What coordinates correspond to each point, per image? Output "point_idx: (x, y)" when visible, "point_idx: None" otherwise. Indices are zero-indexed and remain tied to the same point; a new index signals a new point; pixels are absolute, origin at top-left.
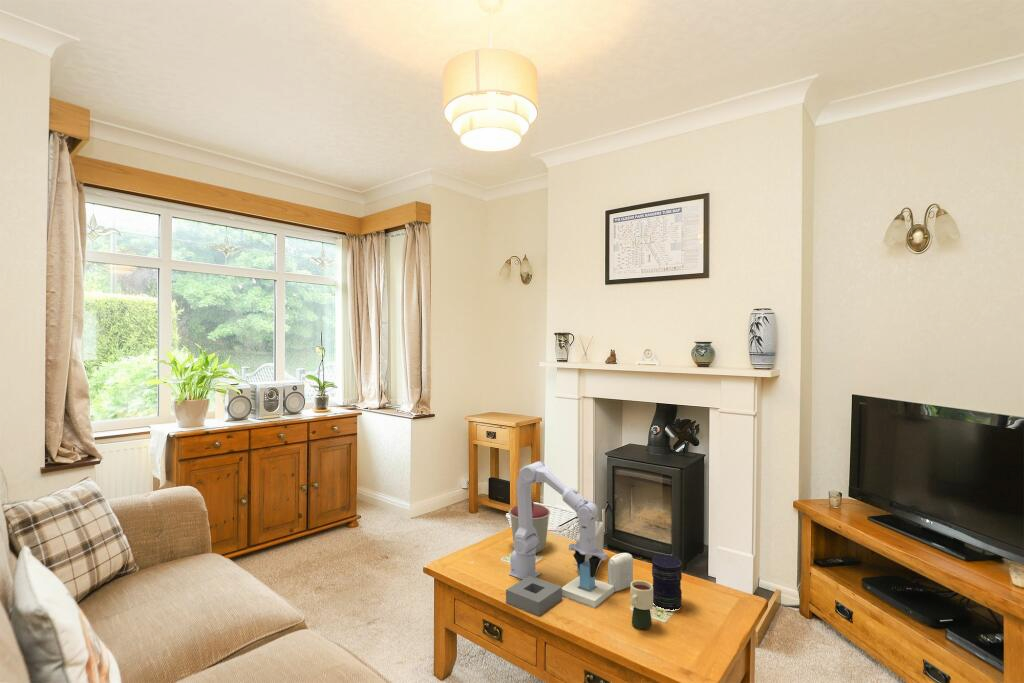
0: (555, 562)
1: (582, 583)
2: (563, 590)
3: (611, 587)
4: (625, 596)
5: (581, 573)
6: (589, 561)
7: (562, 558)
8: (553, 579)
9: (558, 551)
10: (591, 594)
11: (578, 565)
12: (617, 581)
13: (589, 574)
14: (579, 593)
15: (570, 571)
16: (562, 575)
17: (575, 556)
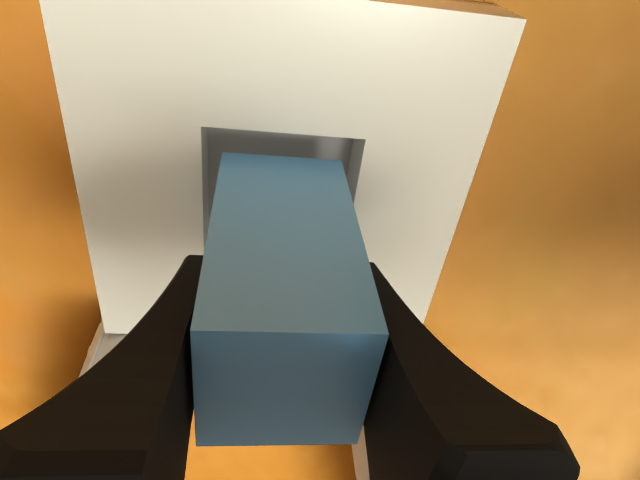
0: (624, 398)
1: (310, 179)
2: (481, 12)
3: (101, 302)
4: (19, 291)
5: (336, 246)
6: (149, 424)
7: (588, 442)
8: (608, 228)
9: (622, 476)
10: (163, 92)
11: (411, 325)
12: (79, 375)
13: (204, 255)
14: (285, 36)
15: (509, 364)
16: (551, 304)
17: (515, 435)
